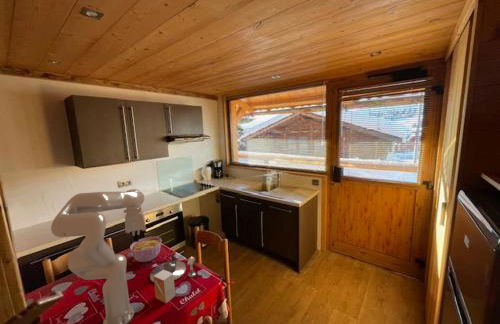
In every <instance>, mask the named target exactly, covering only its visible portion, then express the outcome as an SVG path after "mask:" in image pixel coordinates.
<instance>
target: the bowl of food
mask: <svg viewBox="0 0 500 324" xmlns="http://www.w3.org/2000/svg"><path fill="white" fill-rule="evenodd" d="M161 247H162V238H161V237H159V236H149V237H144V238H143V237H142V238H140V240H139V241H138V242H135V241H134V242H132V244H130V246H129V250H130V252H131V254H132V256H133V258H134V260H135V261H137V262H140V263H148V262H150V261H152V260H155V258H156V257H157V256H158V255H159V253H160V251H161Z"/></svg>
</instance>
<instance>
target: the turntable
mask: <svg viewBox="0 0 500 324" xmlns="http://www.w3.org/2000/svg"><path fill="white" fill-rule="evenodd" d="M170 257H171V261H174V262H175V264H176V271H175V272H174V273H173V277H174V282H175V281H176V280H178V279H179V278H181V277H183V275H184V274H185V273H186V270H187V266H186V264H185V263H184V262H183V261H179V260H177V257H176V254H172V255H171V256H170ZM165 263H166V262H163V263H161V264H159V265H157V266H156V267H154V268H152V270H151V271H150V274H149V278H150V279H149V280H150V281H151V282H152V283H154V275H156V274H157V273H159V272H160V271H162V270H164V266H163V265H164V264H165Z"/></svg>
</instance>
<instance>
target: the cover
mask: <svg viewBox="0 0 500 324" xmlns="http://www.w3.org/2000/svg"><path fill="white" fill-rule="evenodd" d="M164 263H165V264H164V265H163V266H164V270H166V271H169V272H171V273H174V272H175V271H176V264H175V262H174V261H172V260H169V261H166V262H164Z"/></svg>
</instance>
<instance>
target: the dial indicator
mask: <svg viewBox="0 0 500 324" xmlns="http://www.w3.org/2000/svg"><path fill="white" fill-rule="evenodd" d="M195 263H196V258H195V257H194V256H190V257H189V258H188V259H187V265H189V270H190V271H189V272H188V274H187V276H188V277H189V278H194V277H196V275H197V274H196V271H194V267H193V266H194V264H195Z"/></svg>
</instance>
